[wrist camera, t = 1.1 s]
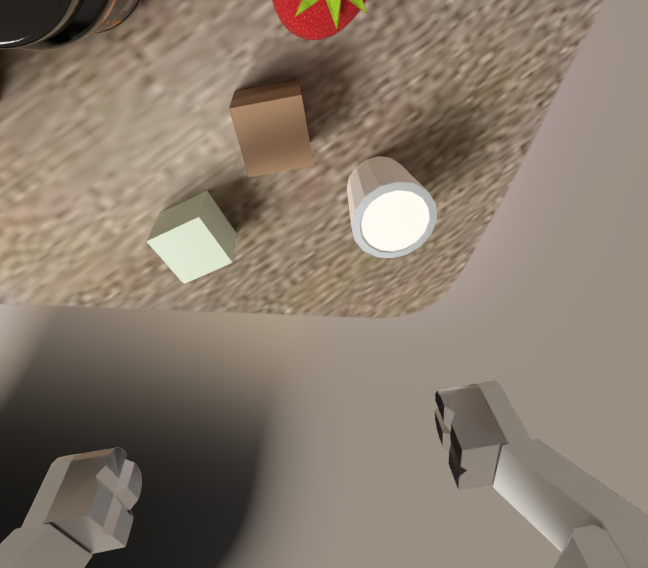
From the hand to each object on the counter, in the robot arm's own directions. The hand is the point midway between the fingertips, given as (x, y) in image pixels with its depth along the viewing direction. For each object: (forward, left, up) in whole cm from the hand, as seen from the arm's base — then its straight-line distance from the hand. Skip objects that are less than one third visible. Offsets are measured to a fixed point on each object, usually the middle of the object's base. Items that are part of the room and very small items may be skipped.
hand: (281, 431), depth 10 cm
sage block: (+8, -9, -28) cm, 31 cm away
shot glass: (+8, +8, -28) cm, 30 cm away
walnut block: (0, 0, -28) cm, 28 cm away
